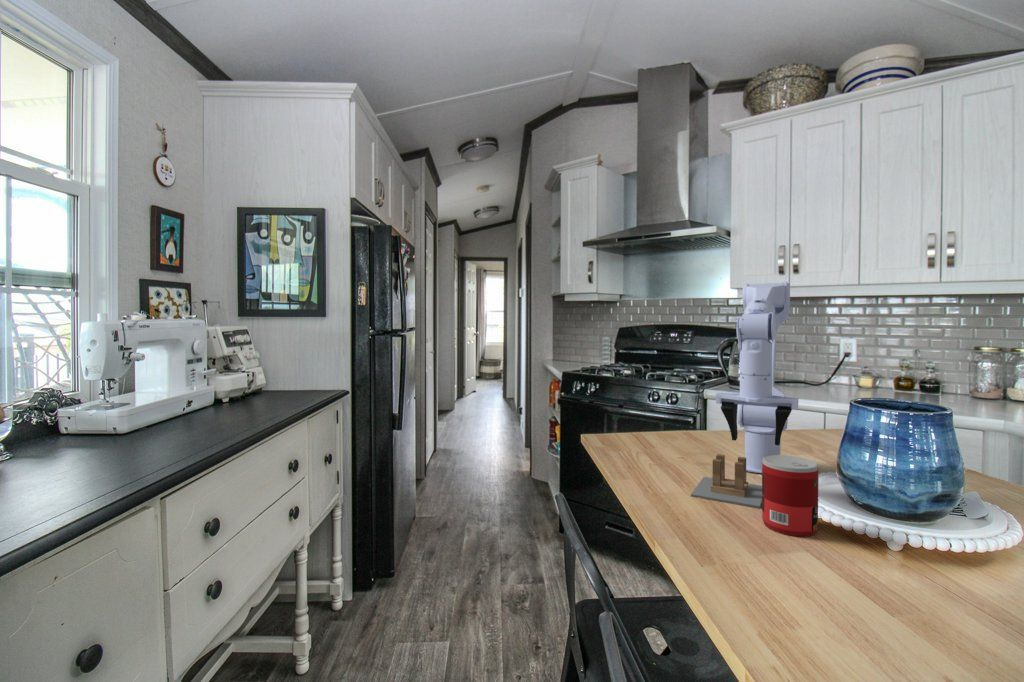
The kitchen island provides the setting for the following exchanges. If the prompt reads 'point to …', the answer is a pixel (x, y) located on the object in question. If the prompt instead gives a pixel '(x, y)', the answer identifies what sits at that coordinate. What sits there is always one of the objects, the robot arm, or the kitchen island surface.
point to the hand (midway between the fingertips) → (755, 441)
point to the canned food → (790, 495)
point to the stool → (728, 485)
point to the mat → (750, 499)
